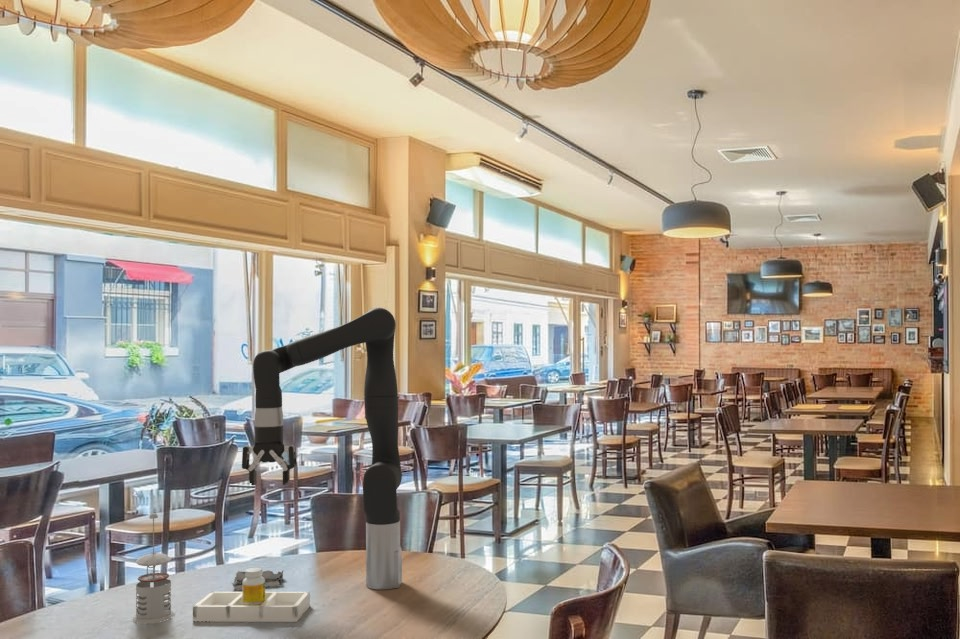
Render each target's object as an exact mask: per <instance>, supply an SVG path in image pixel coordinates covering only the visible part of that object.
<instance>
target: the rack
mask: <svg viewBox="0 0 960 639" xmlns="http://www.w3.org/2000/svg"><path fill="white" fill-rule="evenodd" d="M310 593H311V592H310V591H265V601H264V602H263V603H262V604H261V605H260V606H247V605H242V591H211V592H209V593H208V594H207V595H206V596H204V597H203V598H202V599H201V600H199V601H198V602H197V603H195V605H193V606H192V622H194V621H195V622H197V621H199V622H202V621H203V622H204V623H205V621H207V622H208V623H210V622H211V623H212V622H213V623H214V622H215V623H216V622H217V623H219V622H220V623H224V622H225V623H226V622H227V623H232V622H234V623H235V622H236V623H241V622H242V623H243V622H244V623H248V622H249V623H251V622H252V623H297V622H298V621H299V620H300V619H301V617H302V616H303V615H304V614H305V613H306V611H307V610H308V609H309V608H310V607H311V598H310V597H311V594H310ZM209 621H210V622H209Z"/></svg>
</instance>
